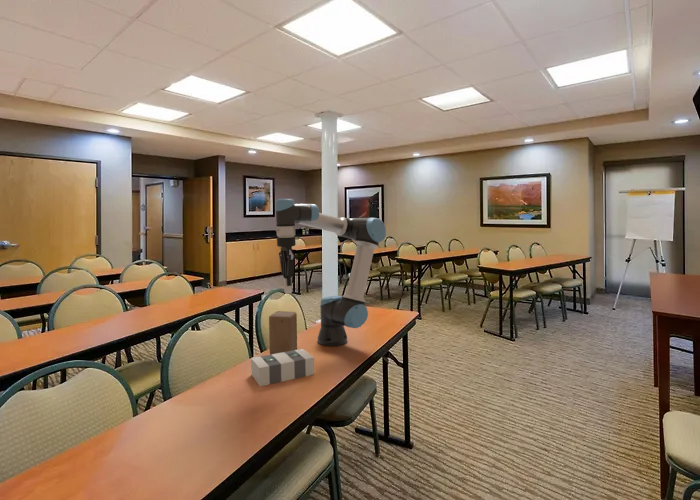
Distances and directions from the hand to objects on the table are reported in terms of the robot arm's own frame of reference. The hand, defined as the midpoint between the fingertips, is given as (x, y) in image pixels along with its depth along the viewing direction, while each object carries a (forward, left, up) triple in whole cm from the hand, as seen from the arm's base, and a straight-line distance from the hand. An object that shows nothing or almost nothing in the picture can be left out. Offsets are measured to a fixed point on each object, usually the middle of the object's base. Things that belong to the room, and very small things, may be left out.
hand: (288, 293), depth 160 cm
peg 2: (+1, +7, -31) cm, 32 cm away
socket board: (+6, +7, -31) cm, 33 cm away
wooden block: (-1, -12, -32) cm, 34 cm away
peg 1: (+11, +7, -31) cm, 34 cm away
